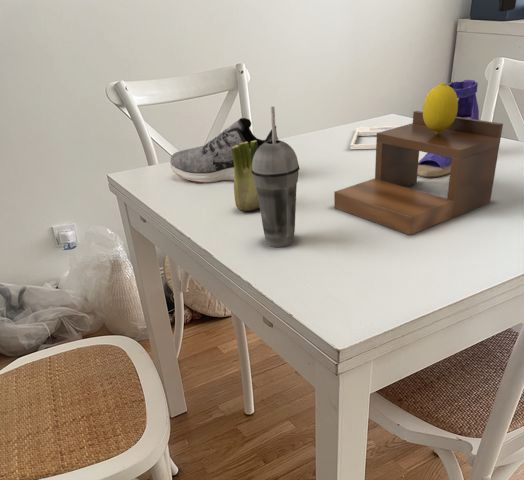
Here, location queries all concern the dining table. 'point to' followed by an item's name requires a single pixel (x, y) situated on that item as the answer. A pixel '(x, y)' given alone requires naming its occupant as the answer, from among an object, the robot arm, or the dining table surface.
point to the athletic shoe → (215, 155)
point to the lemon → (440, 108)
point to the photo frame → (368, 132)
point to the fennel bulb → (244, 176)
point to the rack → (406, 167)
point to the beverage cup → (276, 188)
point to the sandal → (466, 109)
